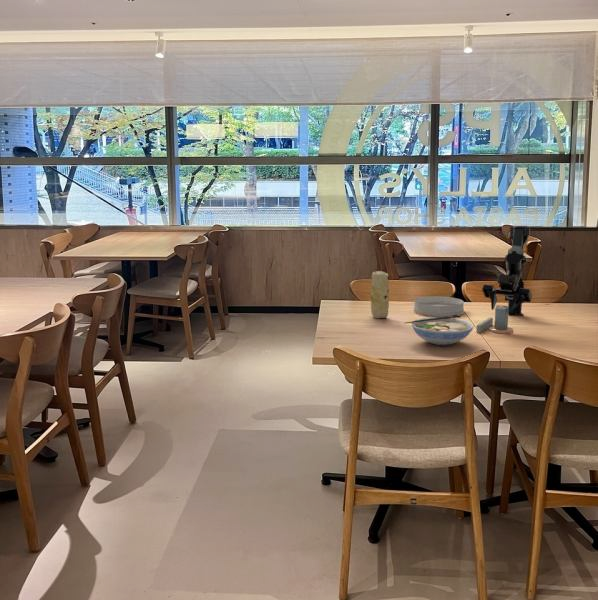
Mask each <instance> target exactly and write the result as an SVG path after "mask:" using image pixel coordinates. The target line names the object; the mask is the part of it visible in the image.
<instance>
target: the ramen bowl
mask: <svg viewBox="0 0 598 600" xmlns="http://www.w3.org/2000/svg"><path fill="white" fill-rule="evenodd" d="M461 317H462V316H461V315H457V314H456V315H450V316H431V317H422V318H417V319H413V320H411V321H407V322H405V321H404V324H411V327H412V329H413V331H414V332H415V334H416V335H417V336H418V338H419V337H420V338H421V340H424V341H426V342H428V343H431V344H432V345H434V344H435V346H440V345H443V347H444V346H445V345H446V346H450V345H452V344H456V343H459V342H461V341H462V340H464V339H466V338H467V337H468V335H470V333H471V332H472V331H473V329H474V327H475V326H474V324H473V322H470V321H468V320H464V319H460V318H461Z"/></svg>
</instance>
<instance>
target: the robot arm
mask: <svg viewBox="0 0 598 600" xmlns="http://www.w3.org/2000/svg"><path fill="white" fill-rule="evenodd" d="M508 233H509V234H508V235H509V237H510V240H511V248H509V249H508V250H507V254H506V255H505V257H504V264H505V267H506V273H505V274H498V277H497V284H498V286H499V287H498V288H495V285H493V284H484V285H483V286H482V288H481V290H482V293H483V295H484V297H485V298H487V299H490V301H491V303H490V305H491V310H492V311H494V310H495V308H496V306H497V302H498V297H497V295H502V296H504V301H507V306H508V309H509V311H508V316H525V314H524V313H523V312H522V310H523V308H522V307H523V304H524V303H530V302H532V299H533V295H532V292H531V289H530V288H526V287H525V282H524V280H523V279H522V273H523V267H524V265H526V263H527V259H528V258H527V257H526V255H525V249H524V247H525V245H526V244H527V242H528V241H529V238H530V235H531V228H530V227H528V225H513V226H510V227H509V232H508Z"/></svg>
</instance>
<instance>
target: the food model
mask: <svg viewBox="0 0 598 600" xmlns="http://www.w3.org/2000/svg"><path fill="white" fill-rule="evenodd" d="M370 283H371V285H370V309H371V315H372V317H373V318H375V319H380V318H383V319H384V318H385V319H386V318H388V315H389V307H390V276H389V274H388V273H387V272H385V271H381V270H377V271H373V272H372V273H371V282H370Z"/></svg>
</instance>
